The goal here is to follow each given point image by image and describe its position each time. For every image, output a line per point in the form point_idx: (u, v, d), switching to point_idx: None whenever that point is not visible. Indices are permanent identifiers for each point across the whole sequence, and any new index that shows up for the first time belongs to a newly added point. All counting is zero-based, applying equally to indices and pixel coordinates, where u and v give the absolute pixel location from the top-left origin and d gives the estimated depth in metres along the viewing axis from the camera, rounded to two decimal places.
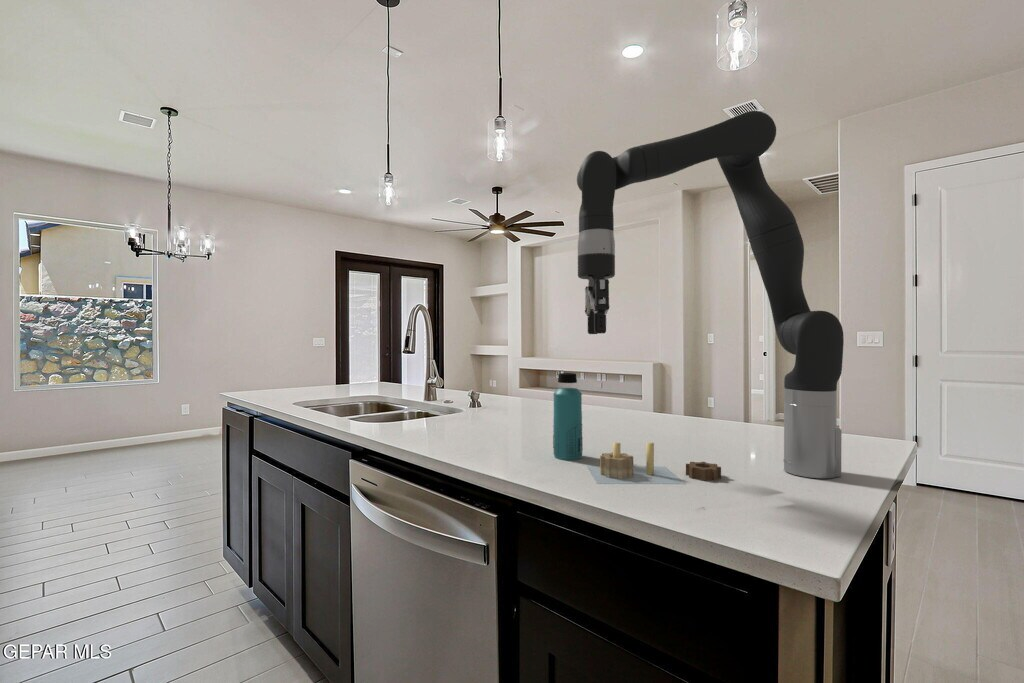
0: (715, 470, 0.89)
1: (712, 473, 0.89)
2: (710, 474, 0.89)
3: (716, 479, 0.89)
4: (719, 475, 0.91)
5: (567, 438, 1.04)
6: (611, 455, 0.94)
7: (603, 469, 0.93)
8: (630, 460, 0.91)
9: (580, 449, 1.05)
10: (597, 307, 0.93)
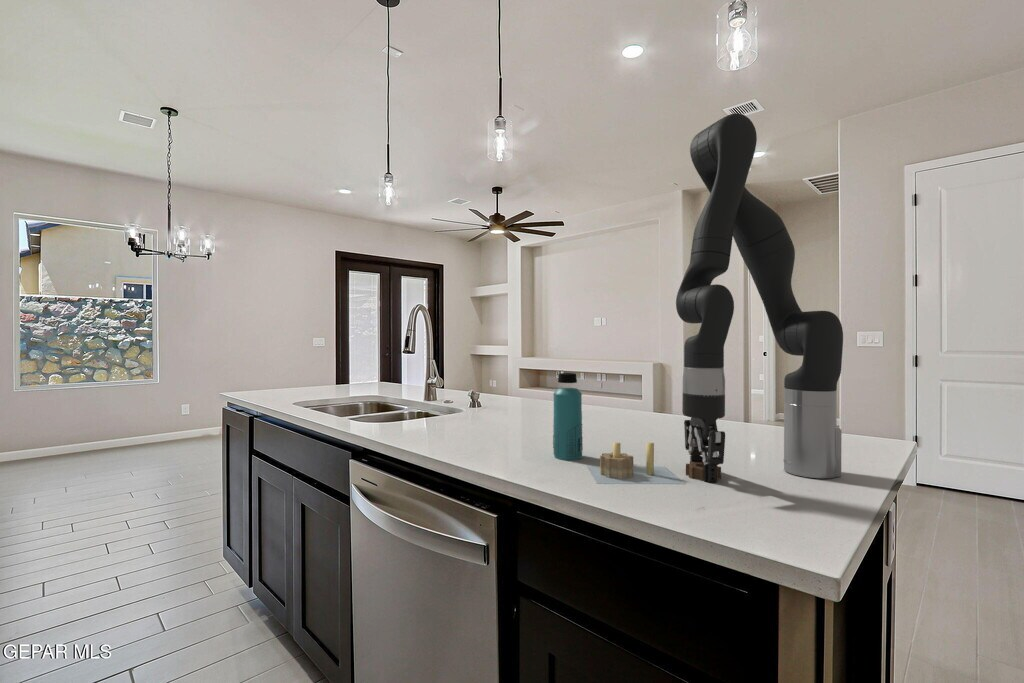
0: None
1: None
2: None
3: None
4: (719, 475, 0.91)
5: (567, 438, 1.04)
6: (611, 455, 0.94)
7: (603, 469, 0.93)
8: (630, 460, 0.91)
9: (580, 449, 1.05)
10: (711, 462, 0.86)
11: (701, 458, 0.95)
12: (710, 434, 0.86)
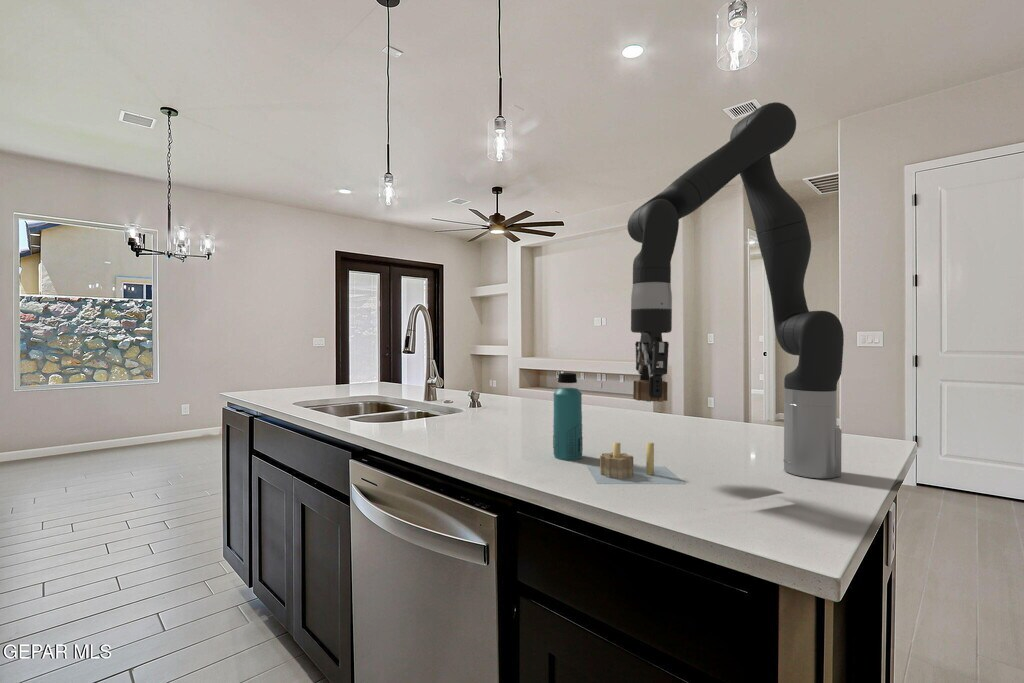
0: None
1: None
2: None
3: None
4: (665, 389, 0.92)
5: (567, 438, 1.04)
6: (611, 455, 0.94)
7: (603, 469, 0.93)
8: (630, 460, 0.91)
9: (580, 449, 1.05)
10: (654, 372, 0.87)
11: None
12: (654, 344, 0.87)
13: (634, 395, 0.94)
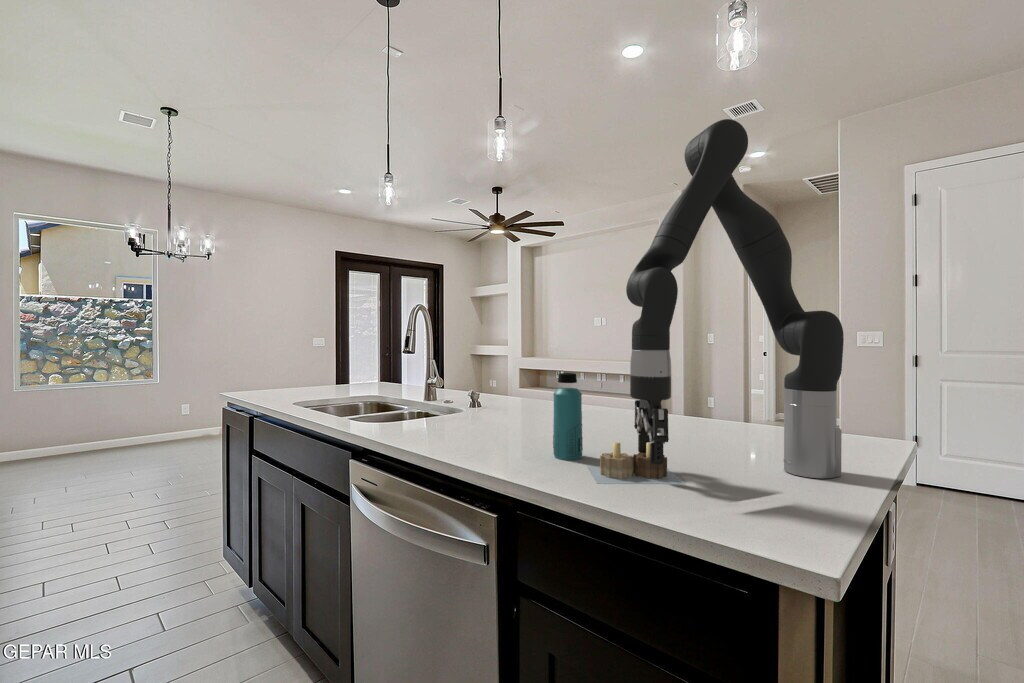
0: None
1: None
2: (655, 464, 0.91)
3: (661, 469, 0.90)
4: (665, 465, 0.92)
5: (567, 438, 1.04)
6: (611, 455, 0.94)
7: (603, 469, 0.93)
8: (630, 460, 0.91)
9: (580, 449, 1.05)
10: (655, 440, 0.86)
11: (648, 436, 0.97)
12: (653, 411, 0.87)
13: (634, 469, 0.94)
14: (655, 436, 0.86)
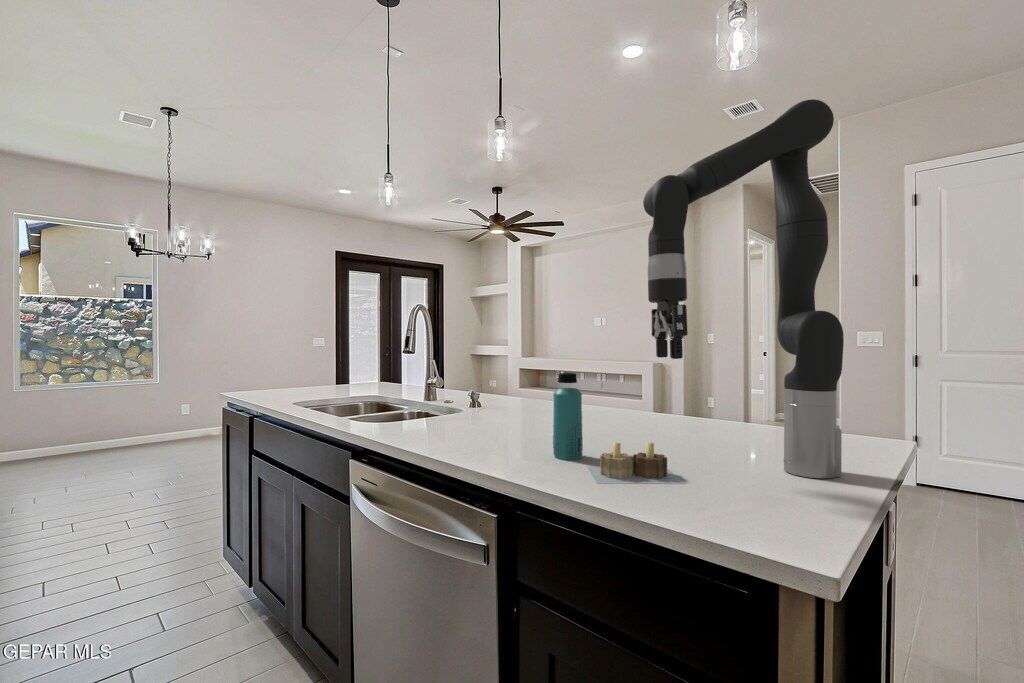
0: (660, 460, 0.90)
1: (657, 463, 0.90)
2: (655, 464, 0.91)
3: (661, 469, 0.90)
4: (665, 465, 0.92)
5: (567, 438, 1.04)
6: (611, 455, 0.94)
7: (603, 469, 0.93)
8: (630, 460, 0.91)
9: (580, 449, 1.05)
10: (675, 333, 0.92)
11: (666, 341, 1.03)
12: (672, 307, 0.93)
13: (634, 469, 0.94)
14: (675, 330, 0.92)
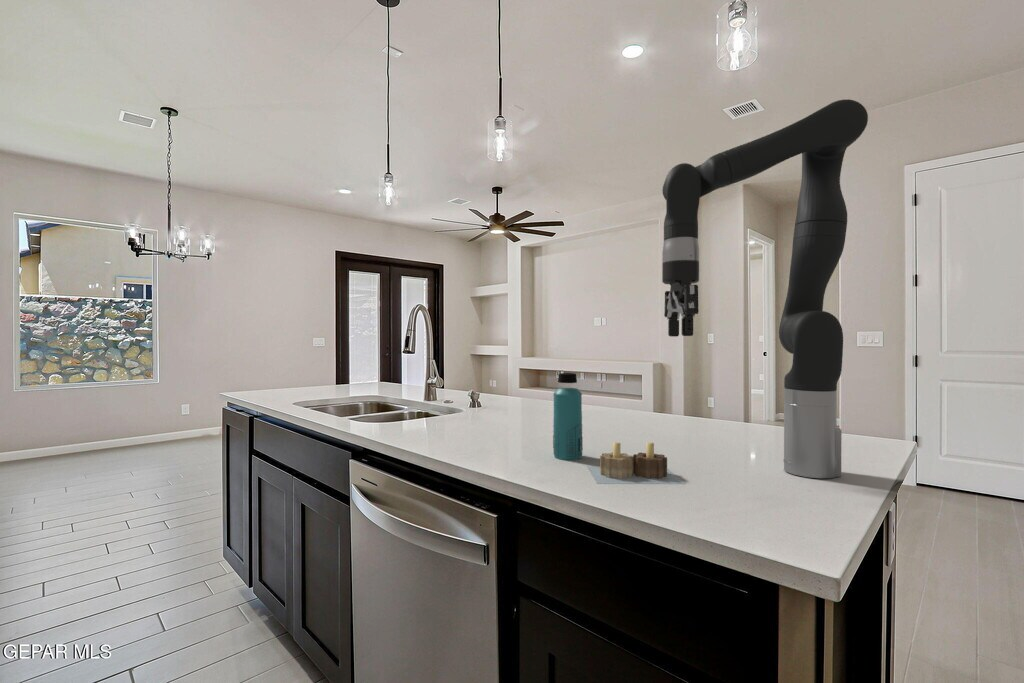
0: (660, 460, 0.90)
1: (657, 463, 0.90)
2: (655, 464, 0.91)
3: (661, 469, 0.90)
4: (665, 465, 0.92)
5: (567, 438, 1.04)
6: (611, 455, 0.94)
7: (603, 469, 0.93)
8: (630, 460, 0.91)
9: (580, 449, 1.05)
10: (687, 311, 0.98)
11: (678, 321, 1.09)
12: (685, 286, 0.98)
13: (634, 469, 0.94)
14: (687, 308, 0.98)
